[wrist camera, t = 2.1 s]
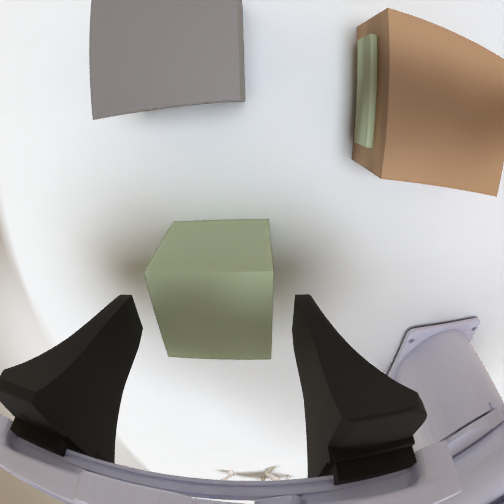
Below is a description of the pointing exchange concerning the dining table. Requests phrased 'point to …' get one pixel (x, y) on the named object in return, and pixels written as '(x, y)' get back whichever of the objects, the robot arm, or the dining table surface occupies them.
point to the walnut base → (428, 105)
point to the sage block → (214, 289)
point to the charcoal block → (164, 54)
